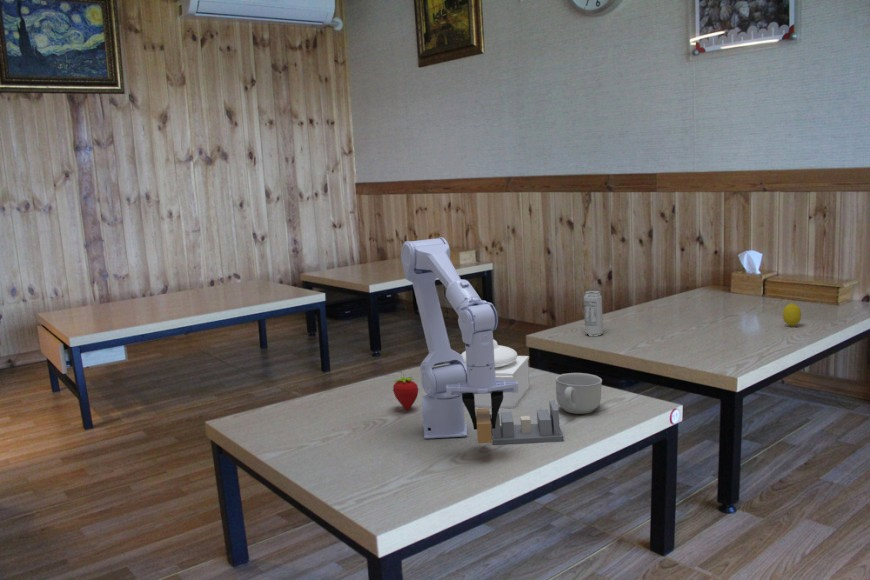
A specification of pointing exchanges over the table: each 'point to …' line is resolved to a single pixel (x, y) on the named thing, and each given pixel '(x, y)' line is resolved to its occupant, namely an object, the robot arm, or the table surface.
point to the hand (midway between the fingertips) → (484, 427)
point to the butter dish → (506, 376)
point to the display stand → (528, 428)
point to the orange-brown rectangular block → (484, 425)
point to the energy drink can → (593, 313)
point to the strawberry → (405, 391)
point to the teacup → (578, 392)
